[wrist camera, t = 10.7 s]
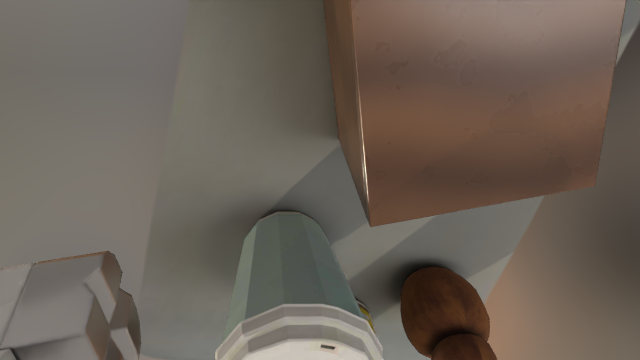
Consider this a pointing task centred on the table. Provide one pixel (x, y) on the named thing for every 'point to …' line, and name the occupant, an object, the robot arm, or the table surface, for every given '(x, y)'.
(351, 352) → the disposable coffee cup
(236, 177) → the table surface
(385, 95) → the lid
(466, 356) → the wooden figurine
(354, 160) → the chest
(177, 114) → the table surface
